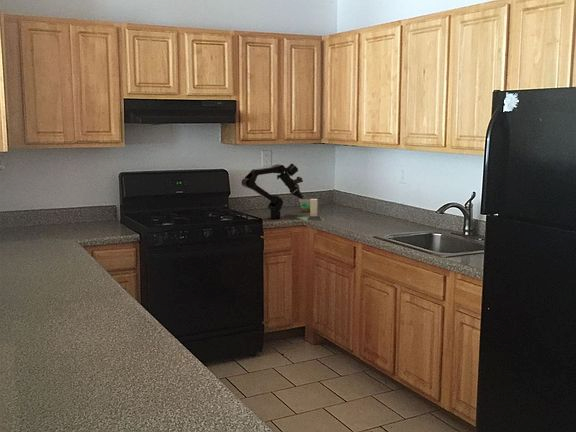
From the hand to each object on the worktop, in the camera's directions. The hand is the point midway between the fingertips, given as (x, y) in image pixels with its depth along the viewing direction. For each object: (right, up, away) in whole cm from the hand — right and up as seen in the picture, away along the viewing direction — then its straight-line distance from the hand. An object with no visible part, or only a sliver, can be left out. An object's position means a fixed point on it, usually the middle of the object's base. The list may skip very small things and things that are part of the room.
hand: (302, 198), depth 437 cm
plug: (+7, -13, +1) cm, 15 cm away
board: (+6, -14, -4) cm, 16 cm away
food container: (+3, -10, +25) cm, 27 cm away
